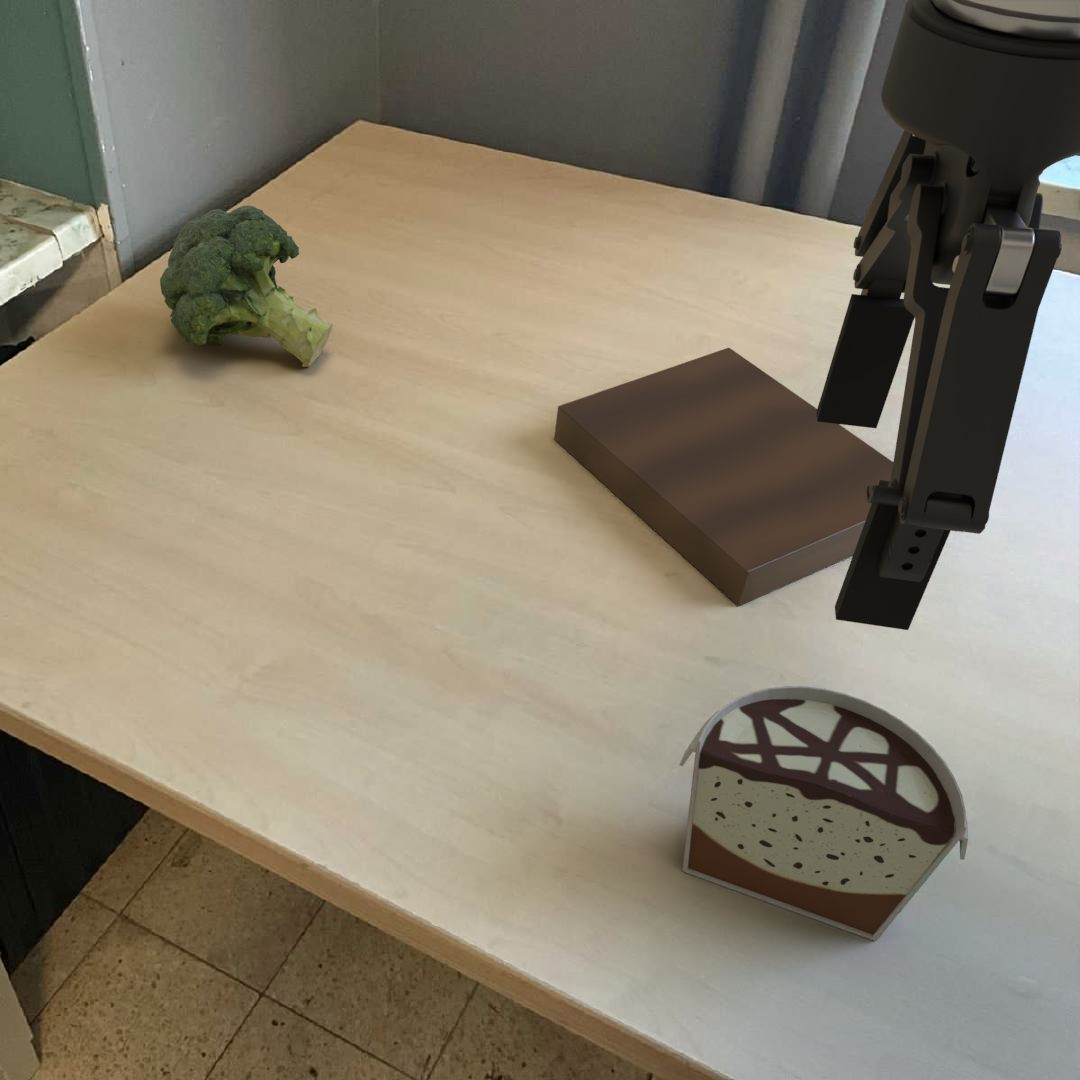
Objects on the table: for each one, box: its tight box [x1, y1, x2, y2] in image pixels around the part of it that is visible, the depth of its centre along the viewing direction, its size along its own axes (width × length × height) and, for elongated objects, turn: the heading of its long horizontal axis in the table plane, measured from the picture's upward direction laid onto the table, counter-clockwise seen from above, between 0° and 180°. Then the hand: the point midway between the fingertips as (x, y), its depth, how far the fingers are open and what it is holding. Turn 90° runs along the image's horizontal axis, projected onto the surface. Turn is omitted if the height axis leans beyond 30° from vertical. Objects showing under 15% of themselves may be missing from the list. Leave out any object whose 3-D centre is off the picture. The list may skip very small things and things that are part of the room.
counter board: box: [553, 347, 894, 607], centre depth 81 cm, size 20×16×3 cm
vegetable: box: [159, 205, 334, 368], centre depth 93 cm, size 12×13×15 cm
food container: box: [679, 685, 969, 942], centre depth 56 cm, size 12×6×10 cm, turn 65°
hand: (856, 510), depth 51 cm, fingers open, 13 cm apart
